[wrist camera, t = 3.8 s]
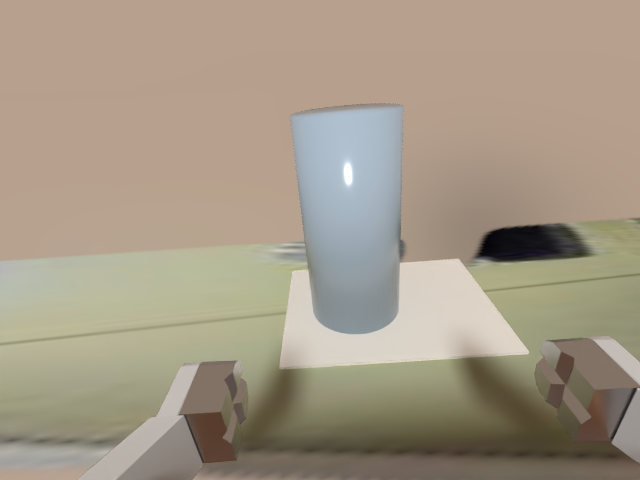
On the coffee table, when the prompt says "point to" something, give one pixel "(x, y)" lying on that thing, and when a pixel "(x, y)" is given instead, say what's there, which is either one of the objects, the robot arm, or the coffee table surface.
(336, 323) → the pale blue cylinder
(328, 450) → the coffee table surface
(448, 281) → the mat
